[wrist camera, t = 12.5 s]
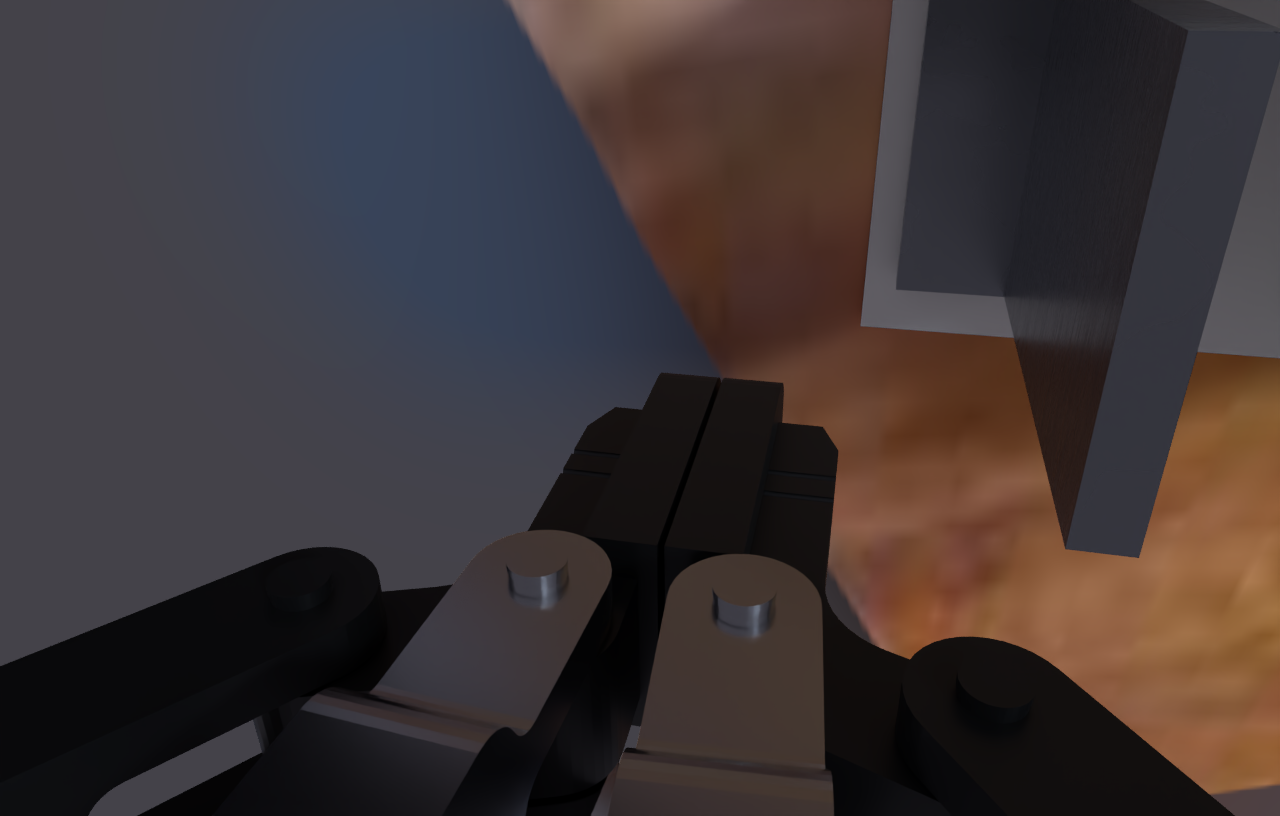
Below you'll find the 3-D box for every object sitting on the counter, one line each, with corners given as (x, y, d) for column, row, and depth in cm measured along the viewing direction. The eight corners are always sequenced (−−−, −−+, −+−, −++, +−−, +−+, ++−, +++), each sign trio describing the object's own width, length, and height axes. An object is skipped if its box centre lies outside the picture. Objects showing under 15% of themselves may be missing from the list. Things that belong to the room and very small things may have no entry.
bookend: (1108, -37, 24) (1287, 30, 13) (1045, 290, 28) (1138, 557, 17) (932, -36, 25) (955, 27, 14) (896, 279, 29) (891, 527, 18)
